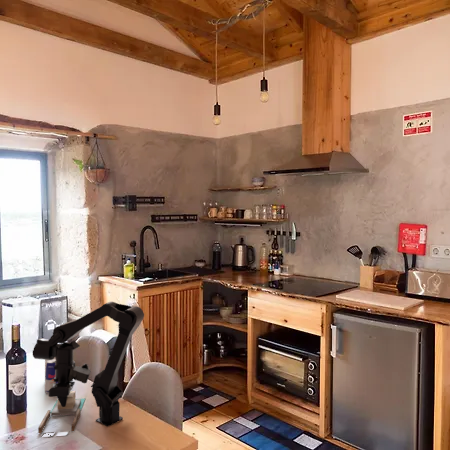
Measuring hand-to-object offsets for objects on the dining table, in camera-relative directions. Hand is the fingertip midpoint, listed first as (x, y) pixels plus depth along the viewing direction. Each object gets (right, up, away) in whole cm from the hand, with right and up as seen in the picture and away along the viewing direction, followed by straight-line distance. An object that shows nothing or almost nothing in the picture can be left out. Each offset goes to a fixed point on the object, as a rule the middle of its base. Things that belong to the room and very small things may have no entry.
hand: (63, 406), depth 143 cm
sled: (-1, -3, +4) cm, 5 cm away
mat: (-1, -3, +7) cm, 8 cm away
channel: (+1, -3, -7) cm, 8 cm away
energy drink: (-12, -3, +19) cm, 23 cm away
